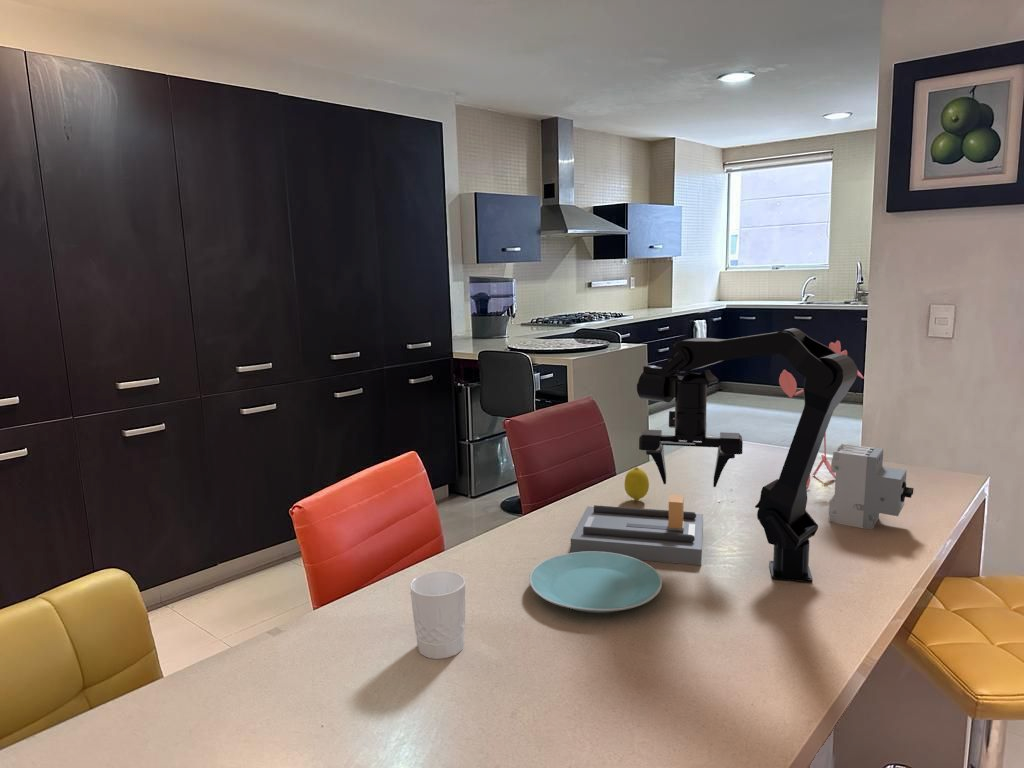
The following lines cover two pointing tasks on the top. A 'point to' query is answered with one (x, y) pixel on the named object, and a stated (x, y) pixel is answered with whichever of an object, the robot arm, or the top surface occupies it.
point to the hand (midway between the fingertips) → (689, 485)
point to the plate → (595, 581)
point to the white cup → (439, 613)
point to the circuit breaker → (865, 487)
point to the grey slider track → (639, 533)
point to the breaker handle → (676, 512)
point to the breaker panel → (638, 546)
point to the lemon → (636, 483)
